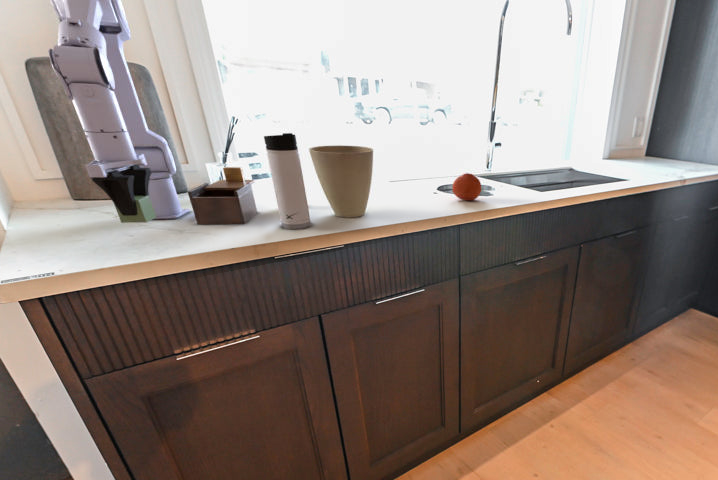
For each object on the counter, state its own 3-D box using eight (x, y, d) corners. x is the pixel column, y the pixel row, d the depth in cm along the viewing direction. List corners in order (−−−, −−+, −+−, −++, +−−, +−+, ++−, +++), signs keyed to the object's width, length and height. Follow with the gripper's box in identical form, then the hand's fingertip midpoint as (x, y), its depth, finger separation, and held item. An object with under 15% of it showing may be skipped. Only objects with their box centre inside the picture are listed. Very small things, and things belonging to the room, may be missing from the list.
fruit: (467, 195, 139) (467, 169, 135) (486, 200, 134) (487, 173, 130) (446, 199, 133) (446, 172, 129) (465, 204, 128) (465, 176, 124)
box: (197, 224, 98) (187, 191, 94) (214, 213, 107) (205, 182, 104) (245, 223, 100) (237, 191, 96) (257, 212, 109) (250, 183, 106)
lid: (204, 190, 101) (200, 173, 99) (220, 182, 110) (216, 166, 108) (242, 190, 103) (238, 173, 101) (255, 182, 112) (251, 166, 110)
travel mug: (294, 231, 96) (275, 134, 86) (276, 226, 99) (256, 131, 89) (317, 225, 101) (302, 133, 91) (300, 221, 104) (283, 130, 94)
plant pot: (309, 213, 111) (297, 146, 103) (360, 205, 121) (353, 144, 113) (338, 224, 102) (328, 153, 95) (390, 215, 112) (385, 150, 104)
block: (121, 222, 77) (112, 200, 75) (132, 217, 81) (124, 195, 79) (146, 222, 78) (138, 200, 76) (156, 217, 81) (149, 195, 80)
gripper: (109, 135, 67) (141, 221, 73) (153, 128, 79) (177, 203, 86) (56, 134, 65) (93, 222, 72) (109, 127, 78) (137, 203, 84)
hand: (136, 212), depth 79 cm, fingers closed on block, 4 cm apart
